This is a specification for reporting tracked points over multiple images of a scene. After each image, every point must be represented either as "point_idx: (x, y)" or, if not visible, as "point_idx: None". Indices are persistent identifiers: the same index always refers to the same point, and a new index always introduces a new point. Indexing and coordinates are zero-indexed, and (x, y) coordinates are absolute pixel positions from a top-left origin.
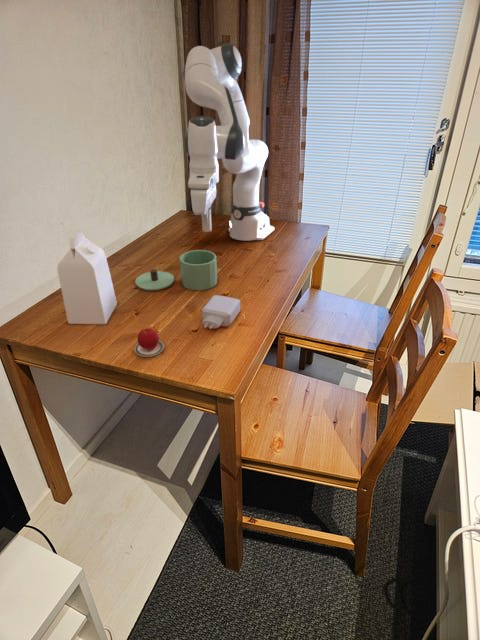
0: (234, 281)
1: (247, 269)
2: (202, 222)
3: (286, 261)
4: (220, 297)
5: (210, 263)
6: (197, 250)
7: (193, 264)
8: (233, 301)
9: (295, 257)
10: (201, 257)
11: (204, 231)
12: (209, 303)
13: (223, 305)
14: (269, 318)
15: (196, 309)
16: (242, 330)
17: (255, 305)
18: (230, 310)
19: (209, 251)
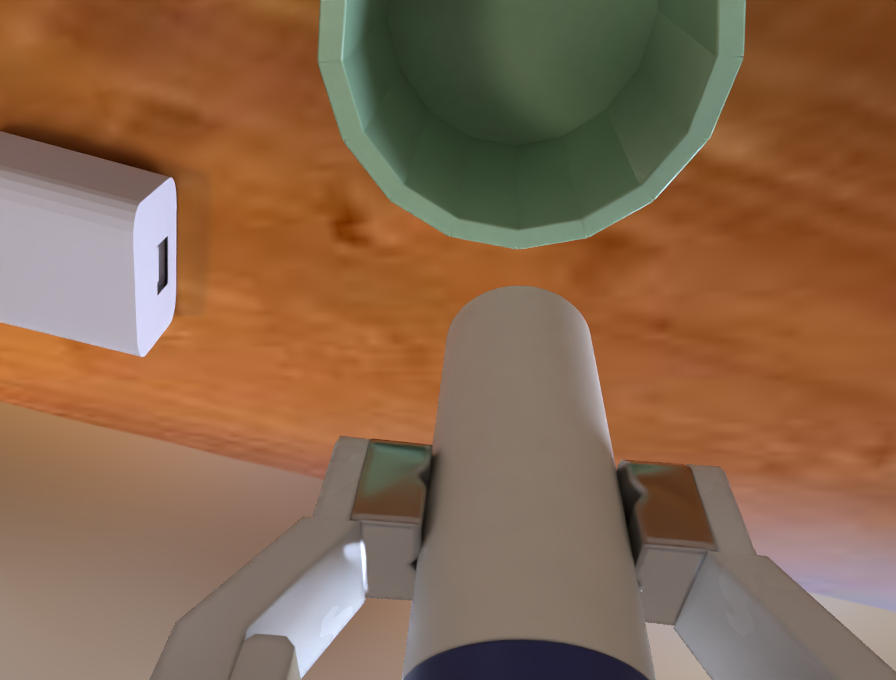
0: (533, 268)
1: (709, 335)
2: (470, 391)
3: (784, 515)
4: (112, 261)
5: (401, 205)
6: (730, 16)
7: (334, 39)
8: (100, 332)
9: (828, 551)
10: (691, 49)
11: (452, 322)
12: (10, 201)
13: (29, 285)
14: (173, 427)
15: (112, 62)
16: (27, 329)
17: (267, 378)
18: (6, 321)
19: (682, 165)
